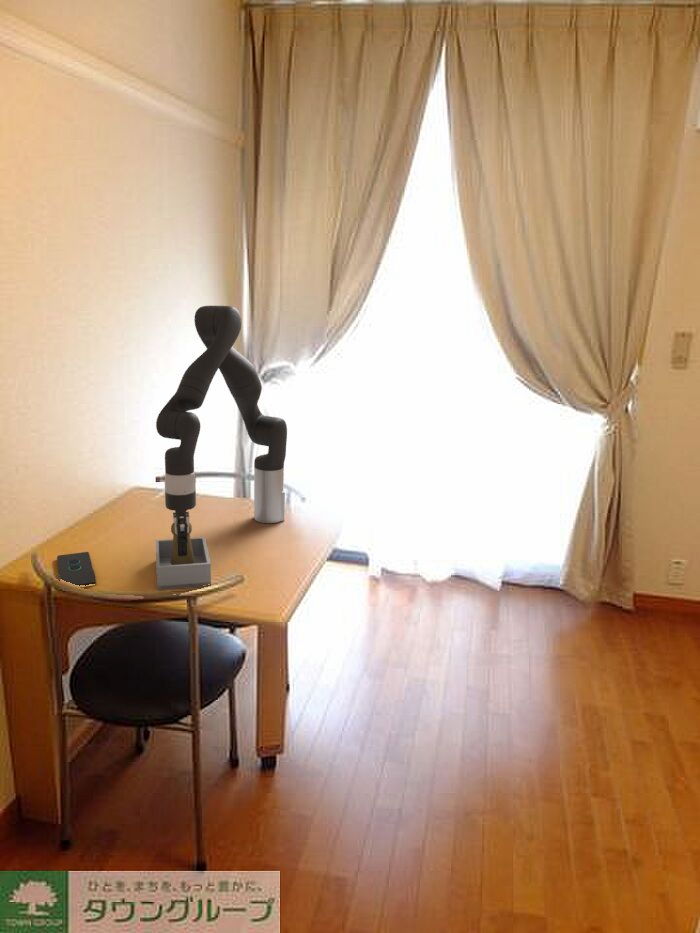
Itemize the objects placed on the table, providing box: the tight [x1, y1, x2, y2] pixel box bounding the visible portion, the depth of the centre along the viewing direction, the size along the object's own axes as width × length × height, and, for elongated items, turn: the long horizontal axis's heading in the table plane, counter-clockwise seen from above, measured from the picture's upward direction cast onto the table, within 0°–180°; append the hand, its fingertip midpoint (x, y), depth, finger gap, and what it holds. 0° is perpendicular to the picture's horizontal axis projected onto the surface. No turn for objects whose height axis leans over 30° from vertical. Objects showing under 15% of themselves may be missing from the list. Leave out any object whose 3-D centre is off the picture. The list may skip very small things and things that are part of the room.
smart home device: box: [56, 551, 97, 586], centre depth 178 cm, size 8×2×20 cm
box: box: [155, 536, 212, 591], centre depth 179 cm, size 13×18×6 cm
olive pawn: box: [170, 521, 194, 565], centre depth 178 cm, size 6×6×11 cm
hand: (182, 551), depth 178 cm, fingers closed on olive pawn, 4 cm apart
